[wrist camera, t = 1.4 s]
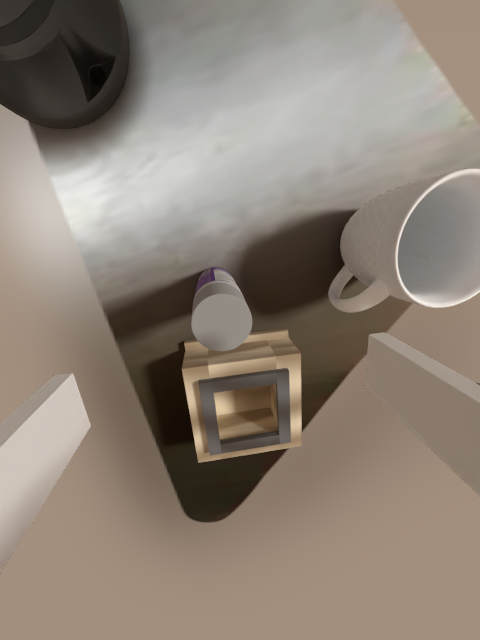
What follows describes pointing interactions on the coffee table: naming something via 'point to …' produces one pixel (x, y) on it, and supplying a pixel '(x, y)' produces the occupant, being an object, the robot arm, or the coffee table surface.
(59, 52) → the robot arm
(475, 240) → the mug
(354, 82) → the coffee table surface
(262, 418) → the socket
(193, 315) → the container
